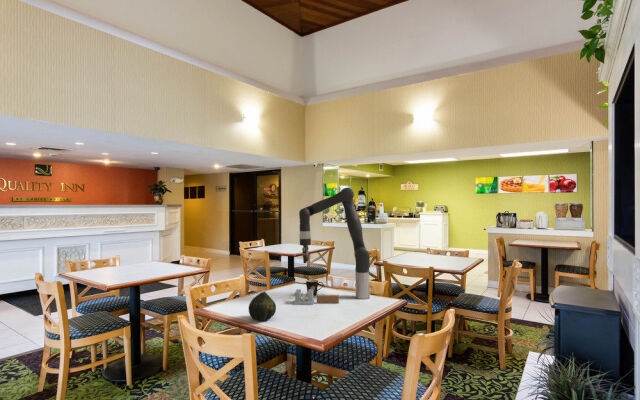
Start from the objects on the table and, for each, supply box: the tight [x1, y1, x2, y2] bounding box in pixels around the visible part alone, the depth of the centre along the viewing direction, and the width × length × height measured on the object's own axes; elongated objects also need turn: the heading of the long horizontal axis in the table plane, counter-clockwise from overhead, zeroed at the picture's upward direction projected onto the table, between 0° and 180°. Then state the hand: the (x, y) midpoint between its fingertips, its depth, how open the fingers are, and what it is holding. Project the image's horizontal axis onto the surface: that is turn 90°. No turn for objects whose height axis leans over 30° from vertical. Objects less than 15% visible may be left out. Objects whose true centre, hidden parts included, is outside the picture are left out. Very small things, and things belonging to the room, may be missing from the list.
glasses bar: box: [316, 294, 340, 305], centre depth 227 cm, size 14×3×5 cm, turn 89°
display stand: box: [293, 288, 315, 306], centre depth 228 cm, size 12×10×8 cm
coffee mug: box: [305, 279, 324, 297], centre depth 248 cm, size 12×9×10 cm
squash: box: [248, 291, 277, 322], centre depth 196 cm, size 14×15×15 cm
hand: (305, 262), depth 239 cm, fingers open, 8 cm apart
